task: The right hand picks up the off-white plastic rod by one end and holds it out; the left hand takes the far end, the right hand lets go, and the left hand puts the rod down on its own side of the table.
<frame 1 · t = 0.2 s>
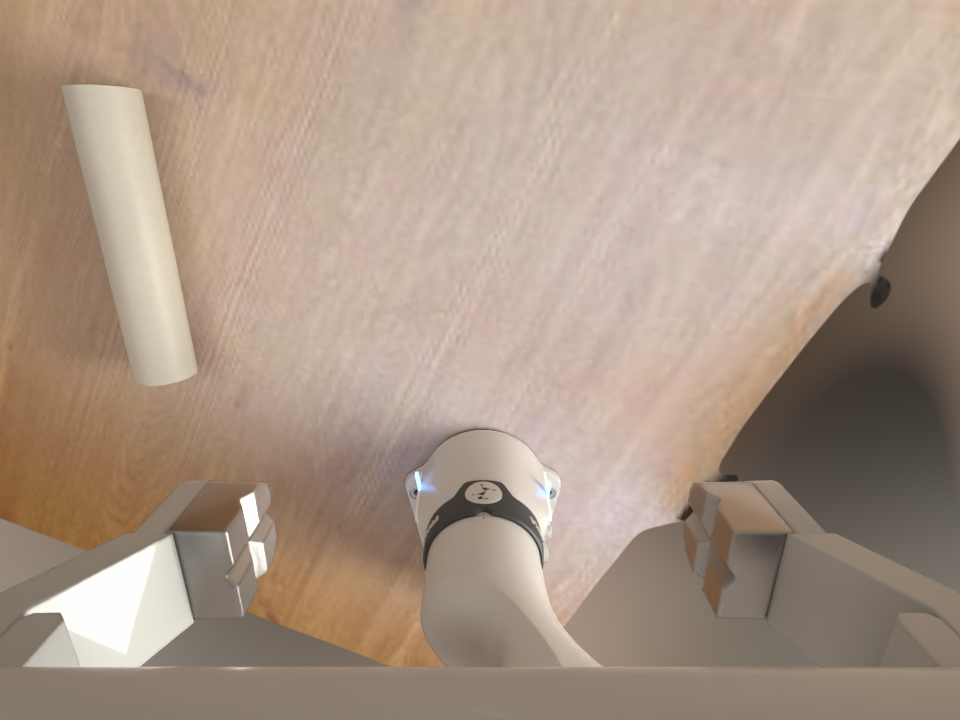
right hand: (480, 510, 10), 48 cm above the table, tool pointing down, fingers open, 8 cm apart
rod: (154, 240, 55), on the table
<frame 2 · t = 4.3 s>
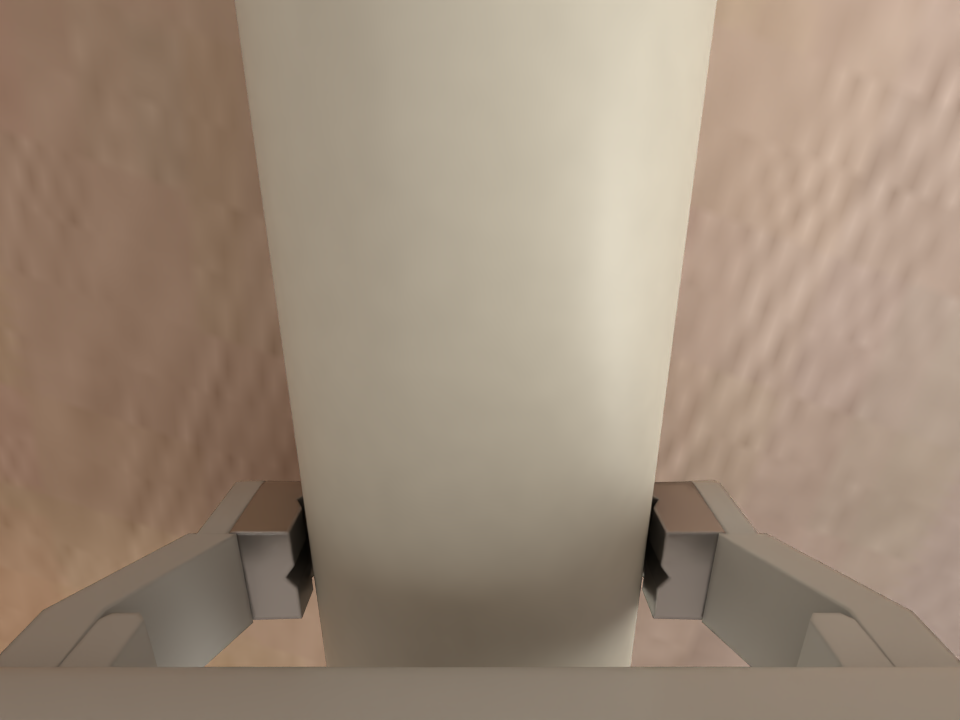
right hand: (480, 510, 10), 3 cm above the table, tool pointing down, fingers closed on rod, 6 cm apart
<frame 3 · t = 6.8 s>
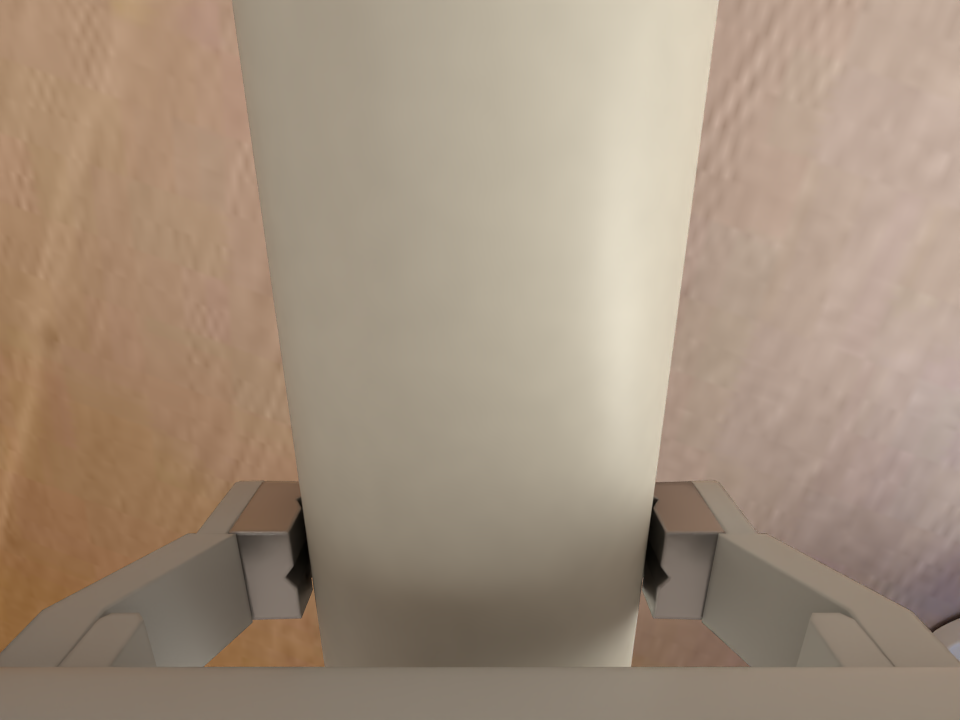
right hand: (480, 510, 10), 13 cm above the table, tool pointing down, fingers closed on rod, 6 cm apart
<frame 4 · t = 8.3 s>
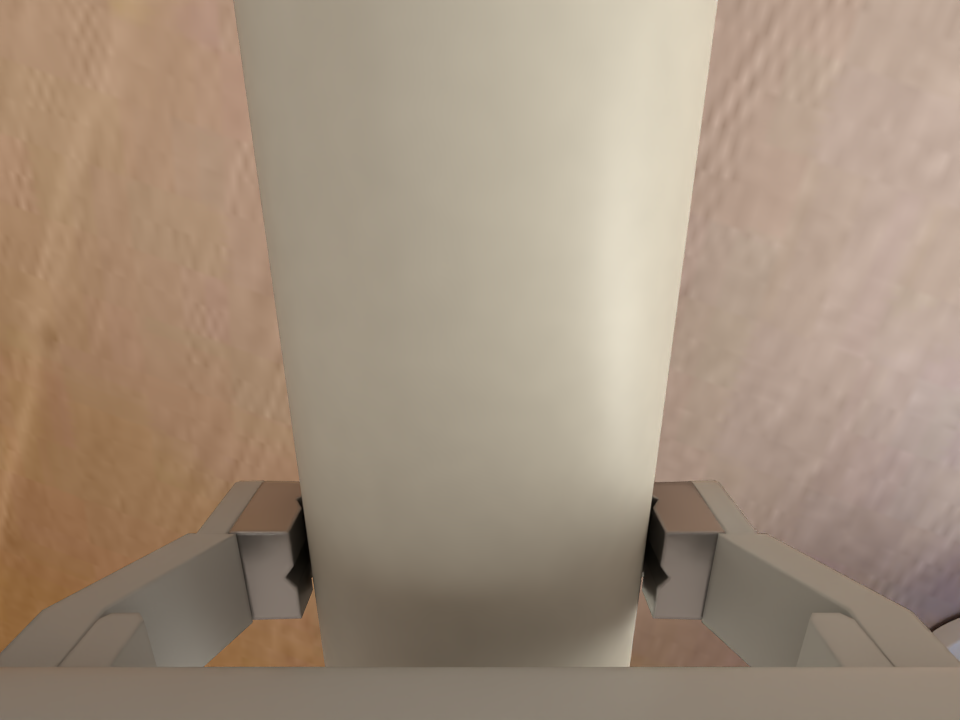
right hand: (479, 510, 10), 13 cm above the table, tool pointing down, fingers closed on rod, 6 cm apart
when the right hand's fingers open (13 cm above the table, at t = 9.7 s): rod moves 1 cm, held by the left hand.
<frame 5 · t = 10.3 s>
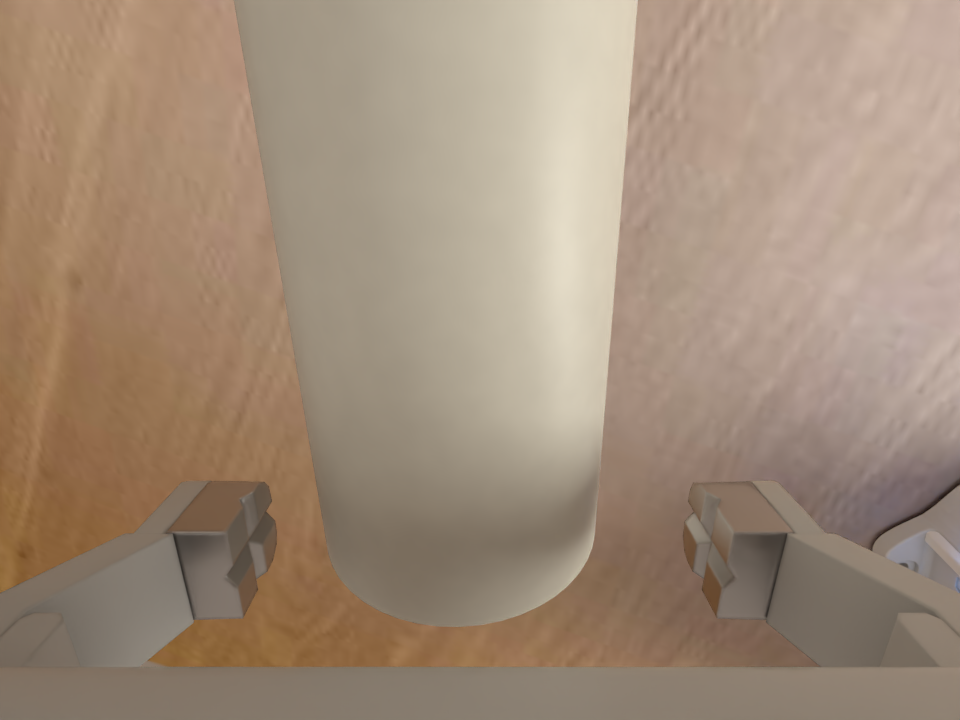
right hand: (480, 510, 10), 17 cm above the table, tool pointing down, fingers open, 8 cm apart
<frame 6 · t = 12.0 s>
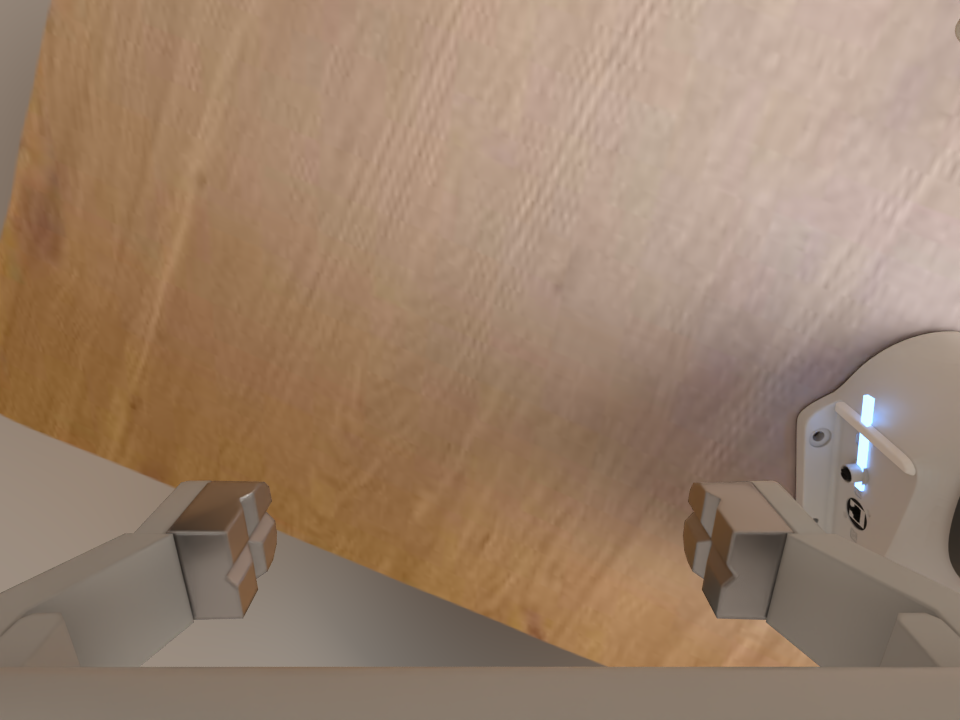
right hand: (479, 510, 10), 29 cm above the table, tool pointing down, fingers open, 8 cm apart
when the left hand's fingers open (4 cm above the table, at t = 15.9 s): rod stays where it is, on the table.
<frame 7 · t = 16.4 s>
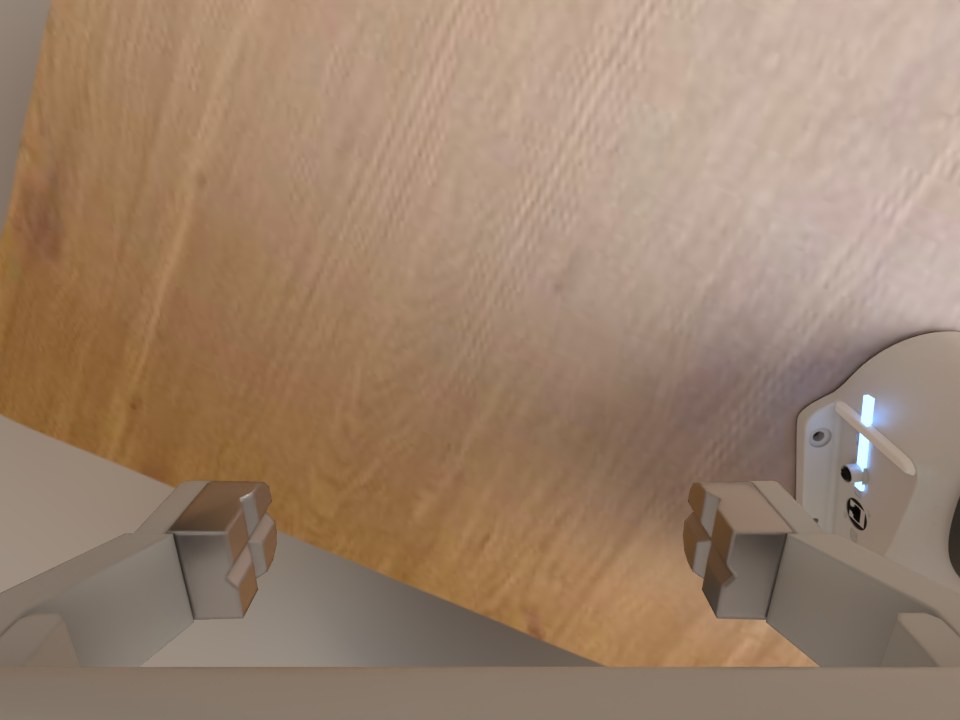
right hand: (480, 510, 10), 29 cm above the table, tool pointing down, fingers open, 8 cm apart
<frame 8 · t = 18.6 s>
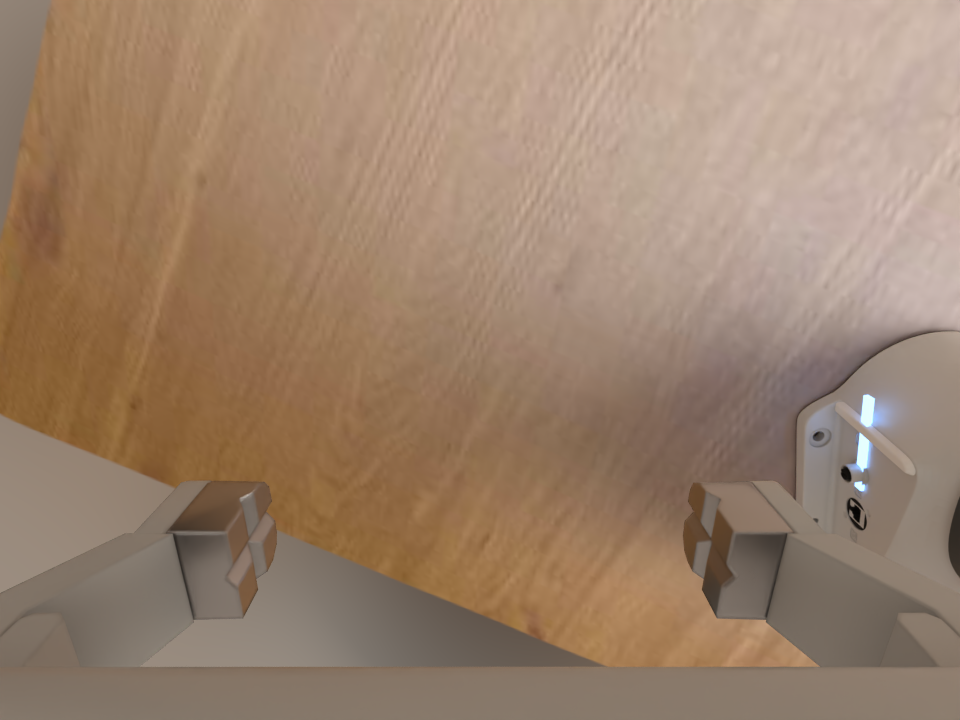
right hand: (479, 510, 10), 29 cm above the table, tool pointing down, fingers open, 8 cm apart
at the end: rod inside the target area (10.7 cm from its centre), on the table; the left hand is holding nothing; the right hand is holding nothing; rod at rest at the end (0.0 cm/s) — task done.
